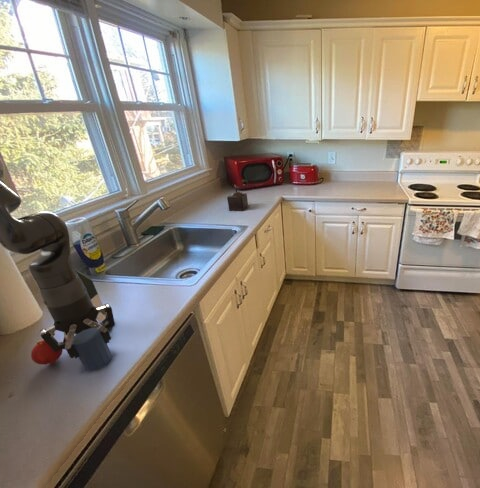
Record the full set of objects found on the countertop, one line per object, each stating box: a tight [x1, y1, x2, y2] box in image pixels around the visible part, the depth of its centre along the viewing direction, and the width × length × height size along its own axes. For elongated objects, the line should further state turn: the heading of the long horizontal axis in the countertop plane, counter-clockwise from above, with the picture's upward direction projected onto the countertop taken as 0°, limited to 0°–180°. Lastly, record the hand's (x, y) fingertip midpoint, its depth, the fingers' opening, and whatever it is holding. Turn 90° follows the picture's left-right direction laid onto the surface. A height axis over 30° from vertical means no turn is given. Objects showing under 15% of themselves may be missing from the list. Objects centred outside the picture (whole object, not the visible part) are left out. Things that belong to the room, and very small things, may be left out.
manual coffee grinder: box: [226, 179, 249, 212], centre depth 190 cm, size 16×11×18 cm
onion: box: [30, 339, 64, 365], centre depth 73 cm, size 6×6×8 cm
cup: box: [72, 328, 113, 372], centre depth 73 cm, size 6×6×9 cm
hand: (92, 348), depth 73 cm, fingers closed on cup, 6 cm apart
